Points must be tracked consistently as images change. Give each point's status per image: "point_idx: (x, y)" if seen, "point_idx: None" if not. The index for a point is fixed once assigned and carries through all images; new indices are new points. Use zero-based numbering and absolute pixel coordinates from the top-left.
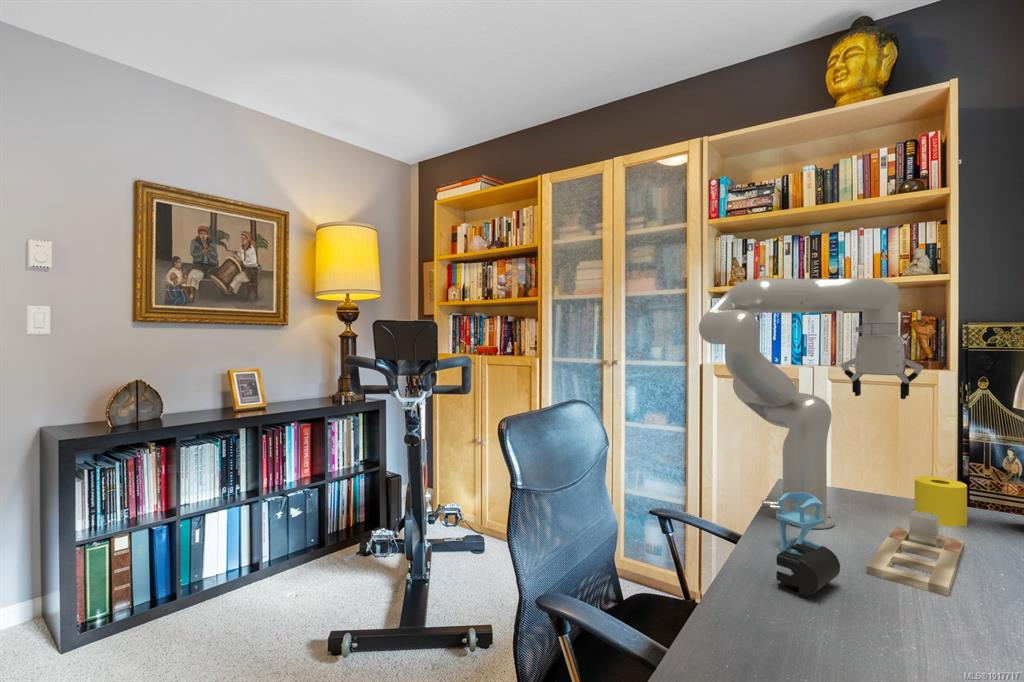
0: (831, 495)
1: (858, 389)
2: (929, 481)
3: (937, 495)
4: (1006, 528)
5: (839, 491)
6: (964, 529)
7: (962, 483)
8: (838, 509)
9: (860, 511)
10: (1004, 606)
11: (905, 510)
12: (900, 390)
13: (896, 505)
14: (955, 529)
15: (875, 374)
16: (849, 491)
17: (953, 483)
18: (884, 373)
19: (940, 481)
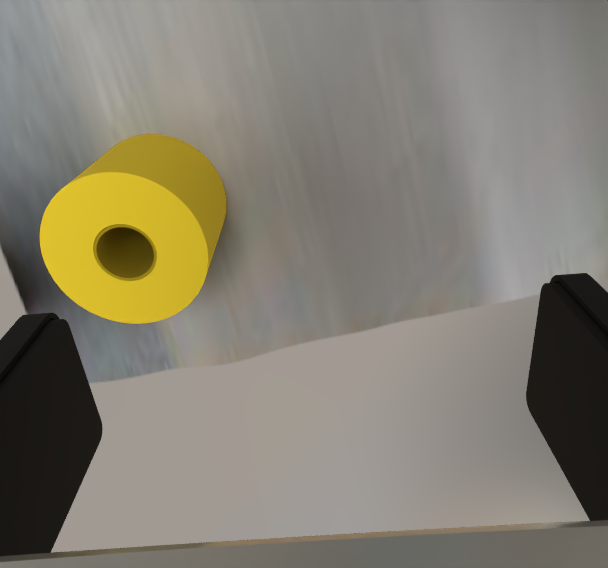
0: (481, 207)
1: (580, 344)
2: (150, 227)
3: (116, 160)
4: (21, 251)
5: (468, 278)
6: (79, 143)
7: (68, 288)
8: (425, 36)
9: (358, 78)
10: None
11: (257, 216)
12: (16, 383)
13: (292, 252)
14: (94, 120)
15: (354, 534)
16: (441, 302)
17: (86, 263)
18: (95, 566)
19: (134, 275)
